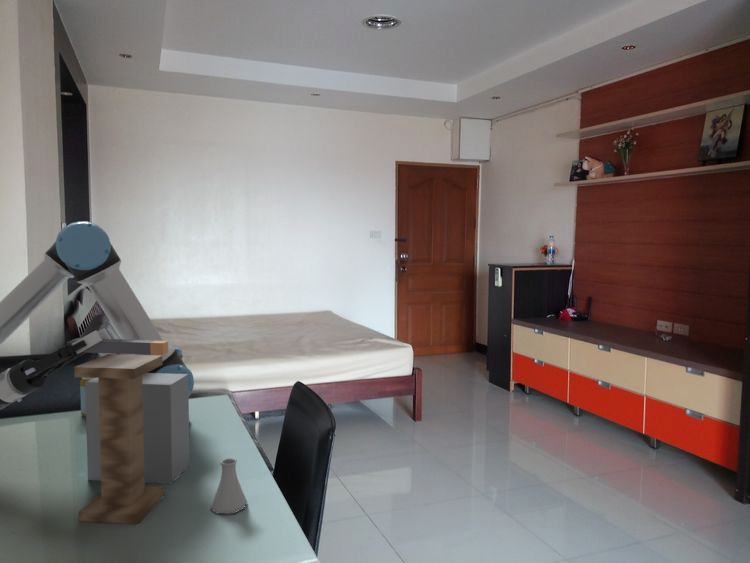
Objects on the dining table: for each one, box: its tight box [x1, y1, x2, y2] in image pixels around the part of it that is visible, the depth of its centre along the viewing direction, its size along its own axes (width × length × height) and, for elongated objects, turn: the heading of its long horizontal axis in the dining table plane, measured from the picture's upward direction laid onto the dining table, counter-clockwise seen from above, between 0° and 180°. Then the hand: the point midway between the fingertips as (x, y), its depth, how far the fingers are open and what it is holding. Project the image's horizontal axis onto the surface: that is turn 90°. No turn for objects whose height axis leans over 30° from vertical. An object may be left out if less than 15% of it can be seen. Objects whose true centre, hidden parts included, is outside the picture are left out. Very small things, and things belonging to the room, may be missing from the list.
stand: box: [73, 353, 166, 525], centre depth 114 cm, size 12×12×31 cm
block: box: [85, 373, 190, 484], centre depth 132 cm, size 20×10×23 cm, turn 86°
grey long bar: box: [66, 337, 169, 355], centre depth 131 cm, size 24×3×3 cm, turn 86°
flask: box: [210, 457, 248, 514], centre depth 116 cm, size 7×7×10 cm
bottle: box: [79, 377, 94, 418], centre depth 175 cm, size 7×7×15 cm
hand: (102, 334), depth 131 cm, fingers closed on grey long bar, 3 cm apart
